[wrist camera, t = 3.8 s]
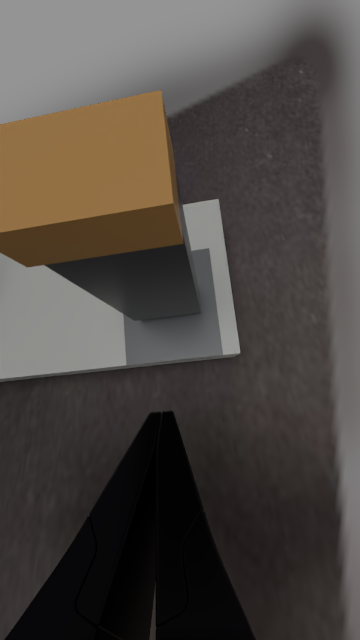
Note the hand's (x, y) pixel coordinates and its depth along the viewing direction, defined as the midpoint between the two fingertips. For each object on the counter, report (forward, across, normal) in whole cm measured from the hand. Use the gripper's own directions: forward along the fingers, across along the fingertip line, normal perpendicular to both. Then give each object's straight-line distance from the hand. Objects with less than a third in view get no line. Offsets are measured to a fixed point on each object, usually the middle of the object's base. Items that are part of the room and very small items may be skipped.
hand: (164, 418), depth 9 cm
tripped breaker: (+6, 0, -1) cm, 7 cm away
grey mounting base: (+11, +7, +1) cm, 13 cm away
